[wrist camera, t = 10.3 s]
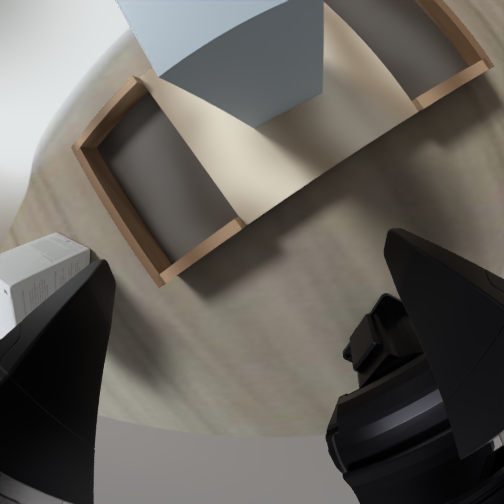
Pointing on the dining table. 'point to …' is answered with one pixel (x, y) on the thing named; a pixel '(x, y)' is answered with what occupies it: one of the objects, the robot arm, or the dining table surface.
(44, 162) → the dining table surface
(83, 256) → the small box
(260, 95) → the block
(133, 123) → the box
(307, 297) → the dining table surface
